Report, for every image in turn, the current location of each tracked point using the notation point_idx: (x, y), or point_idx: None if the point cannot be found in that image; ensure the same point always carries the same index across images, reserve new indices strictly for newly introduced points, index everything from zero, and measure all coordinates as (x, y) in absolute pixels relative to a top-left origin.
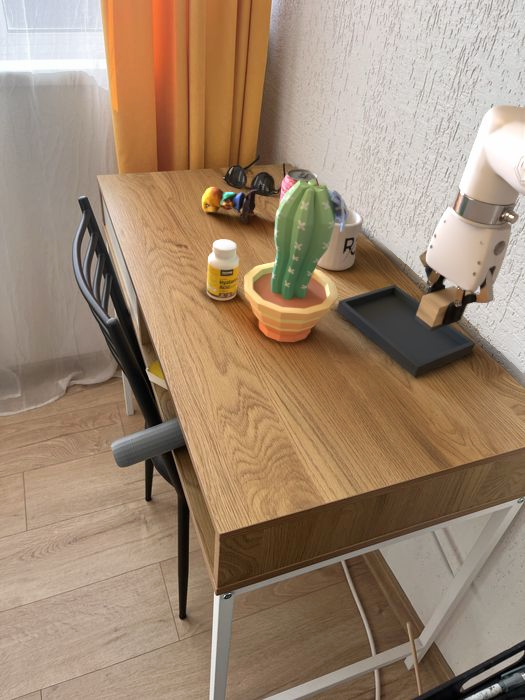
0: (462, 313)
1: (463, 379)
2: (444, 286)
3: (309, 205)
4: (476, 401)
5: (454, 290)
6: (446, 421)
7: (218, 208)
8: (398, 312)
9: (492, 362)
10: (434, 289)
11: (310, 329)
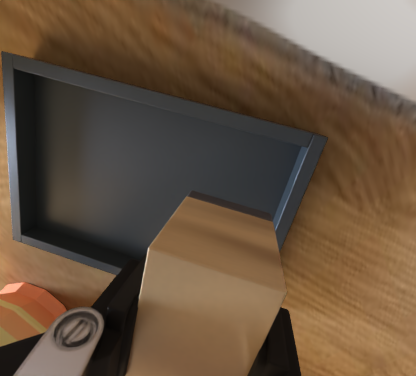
0: (292, 337)
1: (336, 243)
2: (125, 316)
3: None
4: (386, 286)
5: (181, 293)
6: (349, 359)
7: None
8: (100, 141)
9: (384, 125)
10: (116, 373)
11: (60, 309)
